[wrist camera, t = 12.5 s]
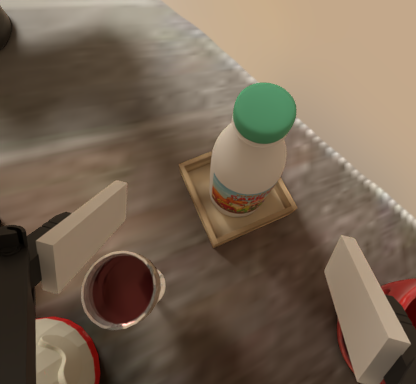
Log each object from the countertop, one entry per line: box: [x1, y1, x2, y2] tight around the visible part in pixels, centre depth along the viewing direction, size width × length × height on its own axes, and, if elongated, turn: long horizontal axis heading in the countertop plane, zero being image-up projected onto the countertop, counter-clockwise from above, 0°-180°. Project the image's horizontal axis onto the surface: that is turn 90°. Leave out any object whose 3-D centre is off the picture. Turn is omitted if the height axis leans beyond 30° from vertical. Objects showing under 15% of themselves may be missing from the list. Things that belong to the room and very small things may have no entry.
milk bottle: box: [209, 83, 296, 218], centre depth 29 cm, size 8×8×20 cm
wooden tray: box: [179, 151, 297, 248], centre depth 38 cm, size 12×12×4 cm
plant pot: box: [337, 279, 416, 384], centre depth 28 cm, size 13×13×12 cm
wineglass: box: [81, 251, 166, 330], centre depth 30 cm, size 7×7×12 cm
